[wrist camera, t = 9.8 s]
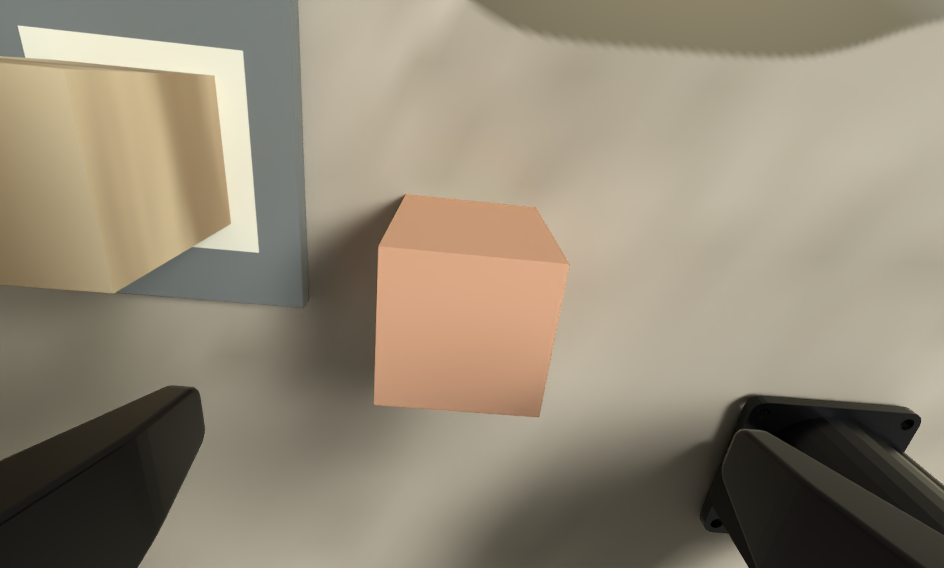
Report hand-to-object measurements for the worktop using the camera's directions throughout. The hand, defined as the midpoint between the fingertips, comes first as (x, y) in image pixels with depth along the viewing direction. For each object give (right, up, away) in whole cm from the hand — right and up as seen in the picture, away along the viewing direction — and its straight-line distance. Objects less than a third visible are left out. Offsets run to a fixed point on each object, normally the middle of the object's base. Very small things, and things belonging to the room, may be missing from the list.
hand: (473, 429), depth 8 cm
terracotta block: (0, +3, +7) cm, 8 cm away
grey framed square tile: (-9, +6, +6) cm, 12 cm away
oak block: (-9, +6, +5) cm, 12 cm away
